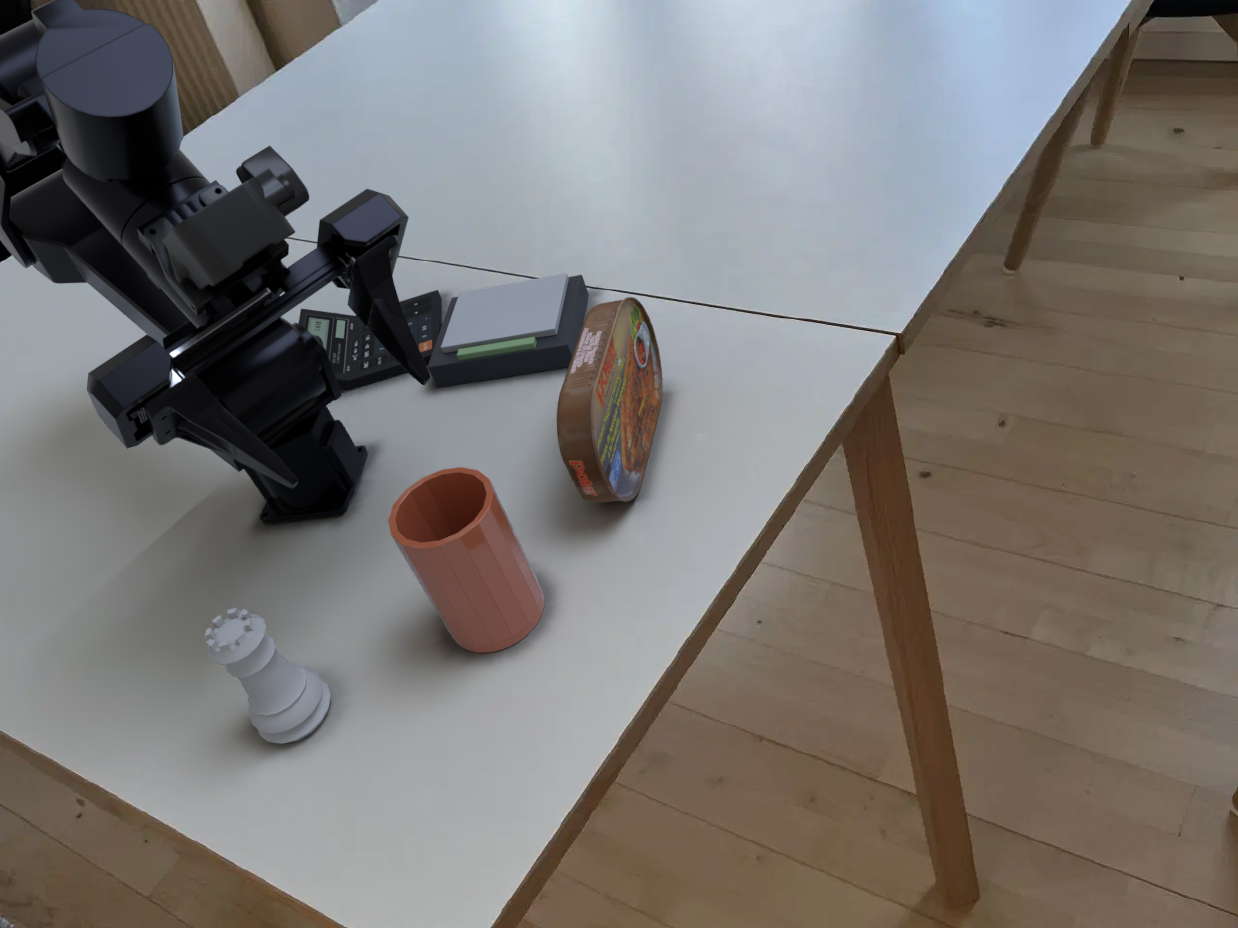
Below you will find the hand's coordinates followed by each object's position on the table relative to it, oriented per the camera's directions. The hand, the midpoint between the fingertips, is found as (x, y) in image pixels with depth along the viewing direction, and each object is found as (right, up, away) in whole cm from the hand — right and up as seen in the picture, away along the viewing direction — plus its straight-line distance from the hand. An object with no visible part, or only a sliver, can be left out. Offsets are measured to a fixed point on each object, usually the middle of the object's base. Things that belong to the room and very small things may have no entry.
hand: (363, 431), depth 58 cm
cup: (+7, -10, +5) cm, 13 cm away
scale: (+6, +8, +25) cm, 27 cm away
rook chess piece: (-4, -16, +3) cm, 17 cm away
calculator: (-6, +7, +30) cm, 31 cm away
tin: (+14, -1, +13) cm, 19 cm away
